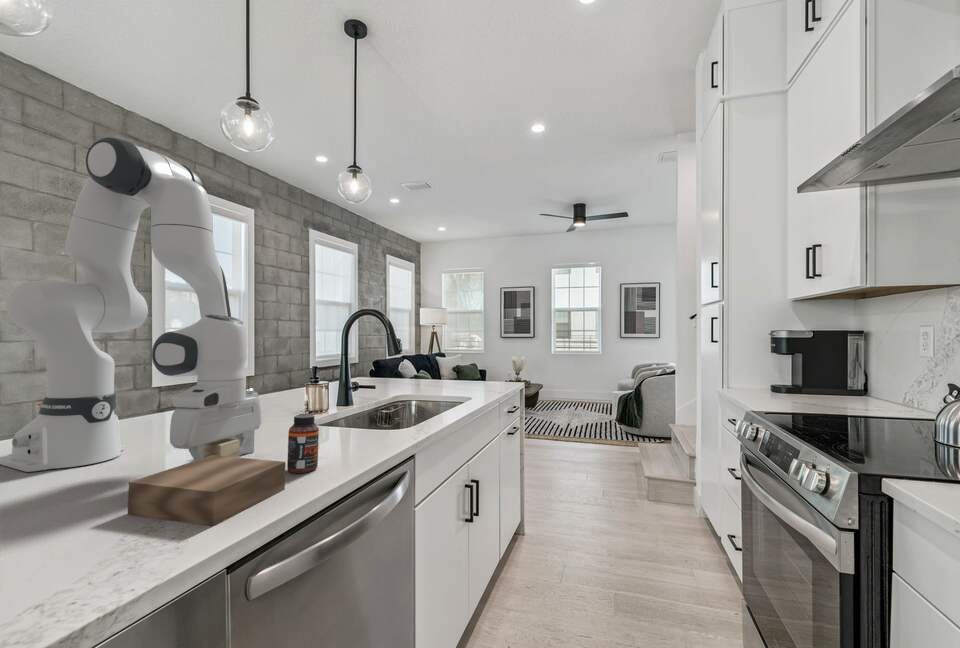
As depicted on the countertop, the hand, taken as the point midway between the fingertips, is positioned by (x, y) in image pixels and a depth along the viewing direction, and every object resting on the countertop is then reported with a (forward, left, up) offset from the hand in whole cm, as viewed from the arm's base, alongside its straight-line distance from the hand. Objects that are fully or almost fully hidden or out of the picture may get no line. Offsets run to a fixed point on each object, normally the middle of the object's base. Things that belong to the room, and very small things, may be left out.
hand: (219, 460), depth 91 cm
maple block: (0, 0, -2) cm, 2 cm away
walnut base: (+12, -14, -2) cm, 19 cm away
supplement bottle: (+16, +5, -2) cm, 17 cm away
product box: (-7, +12, -2) cm, 14 cm away
